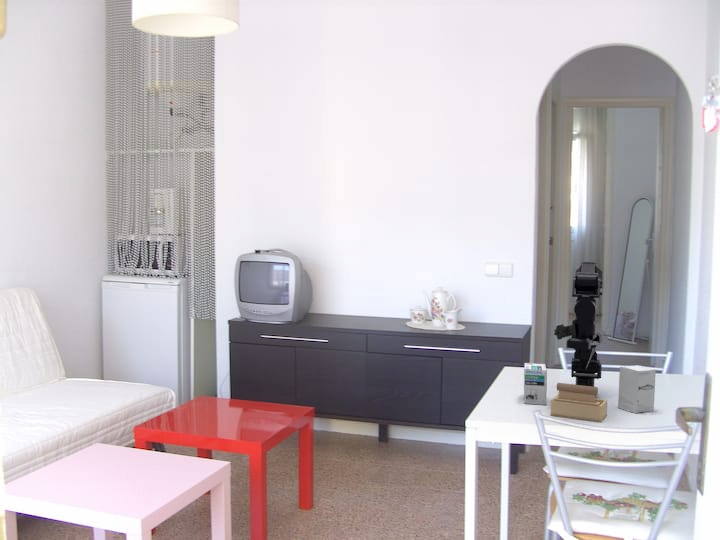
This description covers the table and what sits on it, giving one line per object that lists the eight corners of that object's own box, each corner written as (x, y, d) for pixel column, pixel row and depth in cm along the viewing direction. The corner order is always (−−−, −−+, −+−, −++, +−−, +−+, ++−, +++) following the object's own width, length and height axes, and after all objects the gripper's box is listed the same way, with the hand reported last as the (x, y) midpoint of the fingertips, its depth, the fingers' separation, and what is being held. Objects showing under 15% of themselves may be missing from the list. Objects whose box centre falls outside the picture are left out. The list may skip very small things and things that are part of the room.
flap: (555, 397, 219) (555, 381, 219) (600, 403, 213) (601, 386, 213) (553, 399, 217) (553, 383, 216) (598, 405, 211) (599, 388, 210)
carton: (558, 409, 225) (558, 394, 225) (606, 415, 218) (607, 400, 218) (550, 415, 218) (550, 399, 217) (600, 422, 211) (601, 406, 211)
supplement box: (635, 413, 221) (637, 370, 220) (617, 407, 228) (618, 366, 227) (654, 411, 224) (656, 369, 223) (636, 405, 230) (637, 364, 230)
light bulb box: (546, 405, 229) (547, 370, 229) (523, 404, 231) (524, 368, 230) (545, 397, 240) (546, 363, 239) (523, 396, 241) (524, 362, 240)
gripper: (565, 311, 233) (563, 362, 234) (549, 317, 217) (547, 371, 218) (603, 314, 228) (601, 365, 228) (589, 320, 211) (587, 376, 212)
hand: (583, 369), depth 222 cm, fingers closed
